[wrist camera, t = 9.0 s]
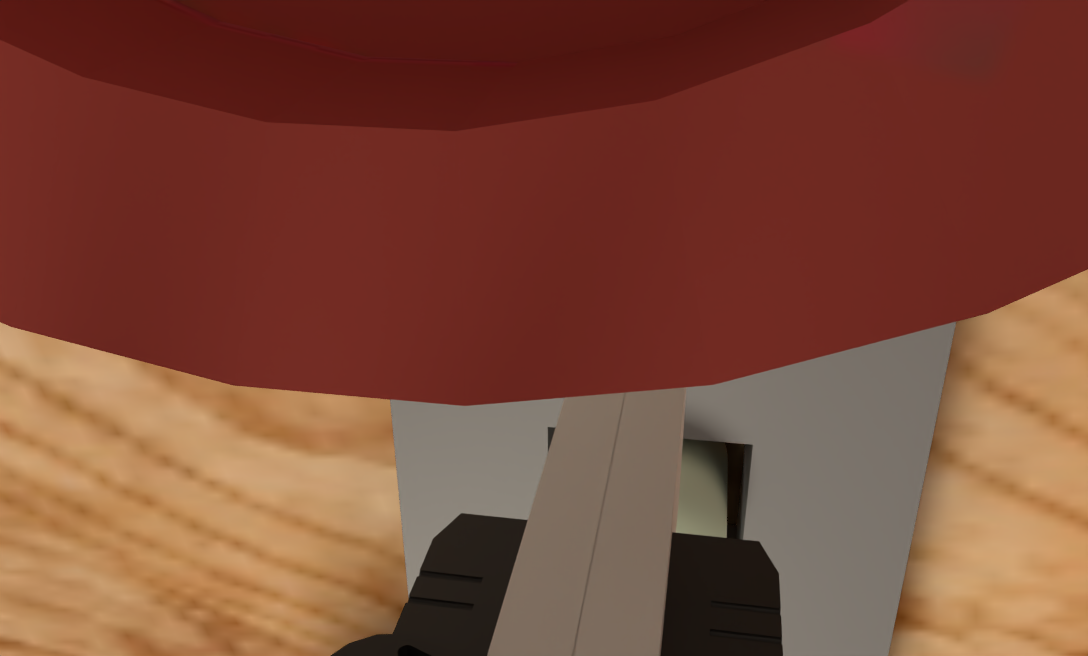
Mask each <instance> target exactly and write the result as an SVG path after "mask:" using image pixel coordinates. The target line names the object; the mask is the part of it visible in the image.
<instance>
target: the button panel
mask: <svg viewBox="0 0 1088 656" xmlns="http://www.w3.org/2000/svg"><path fill="white" fill-rule="evenodd" d="M955 325H956V322H952V323H949V324H945V325H941V326H937V327H933V328H930V329H926V330H922V331H918V332H914V333H910V334H907V335H903V336H899V337H895V338H891V339H887V340H884V341H880V342H876V343H872V344H868V345H864V346H861V347H857V348H853V349H849V350H845V351H841V352H838V353H834V354H830V355H826V356H822V357H818V358H815V359H811V360H807V361H803V362H799V363H795V364H792V365H788V366H784V367H780V368H776V369H772V370H769V371H765V372H761V373H757V374H753V375H749V376H746V377H742V378H738V379H734V380H730V381H727V382H723V383H719V384H715V385H708V386H696V387H686V401H685V416H684V431H683V439H693V440H705V441H716V442H728V443H739V444H745V446H744V456H743V466H742V476H741V486H740V495H739V505H738V515H737V525H730V524H727V538H733V539H742V540H752V541H759V542H760V543H761V545H762V547H763V548H764V550H765V551H766V553H767V555H768V556H769V558H770V560H771V561H772V563H773V564H774V566H775V568H776V569H777V571H778V572H779V582H780V603H781V612H780V615H781V623H782V645H783V656H888V654H889V649H890V644H891V639H892V634H893V629H894V624H895V620H896V615H897V610H898V605H899V600H900V595H901V590H902V585H903V580H904V575H905V570H906V566H907V561H908V556H909V551H910V546H911V541H912V536H913V531H914V526H915V521H916V517H917V512H918V507H919V502H920V497H921V492H922V487H923V482H924V477H925V472H926V467H927V463H928V458H929V453H930V448H931V443H932V438H933V433H934V428H935V423H936V418H937V414H938V409H939V404H940V399H941V394H942V389H943V384H944V379H945V374H946V369H947V364H948V360H949V355H950V350H951V345H952V340H953V335H954V330H955ZM563 401H564V398H554V399H542V400H531V401H519V402H507V403H495V404H483V405H472V406H458V405H447V404H436V403H425V402H414V401H403V400H391V399H390V403H391V414H392V425H393V436H394V446H395V457H396V468H397V478H398V489H399V500H400V511H401V521H402V532H403V543H404V554H405V564H406V575H407V586H408V596H409V594H410V592H411V590H412V587H413V585H414V582H415V580H416V578H417V576H418V577H419V574H420V568H421V566H422V564H423V561H424V559H425V556H426V554H427V552H428V549H429V547H430V545H431V542H432V540H433V538H434V537H435V536H436V535H438V534H439V533H440V532H441V531H442V530H443V529H444V528H445V527H446V526H448V525H449V524H450V523H451V522H452V521H453V520H454V519H455V518H456V517H457V516H459V515H460V514H461V513H466V514H475V515H485V516H494V517H504V518H514V519H523V520H528V518H529V514H530V511H531V508H532V505H533V501H534V498H535V495H536V491H537V488H538V485H539V481H540V478H541V475H542V471H543V468H544V465H545V461H546V458H547V455H548V451H549V448H550V445H551V441H552V438H553V435H554V431H555V428H556V425H557V421H558V418H559V415H560V411H561V408H562V405H563Z"/></svg>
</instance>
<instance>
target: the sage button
mask: <svg viewBox="0 0 1088 656" xmlns="http://www.w3.org/2000/svg"><path fill="white" fill-rule="evenodd" d="M727 481H728V455H727V448H726V445H725V442H716V441H705V440H693V439H683V446H682V461H681V475H680V490H679V504H678V515H677V526H676V533H685V534H694V535H704V536H713V537H723V538H727Z"/></svg>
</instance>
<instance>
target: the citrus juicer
mask: <svg viewBox="0 0 1088 656" xmlns="http://www.w3.org/2000/svg"><path fill="white" fill-rule="evenodd" d="M1087 269H1088V0H0V322H1V323H4V324H6V325H8V326H11V327H14V328H18V329H22V330H26V331H29V332H33V333H37V334H41V335H45V336H48V337H52V338H56V339H60V340H63V341H67V342H71V343H75V344H79V345H82V346H86V347H90V348H94V349H98V350H101V351H105V352H109V353H113V354H117V355H120V356H124V357H128V358H132V359H136V360H139V361H143V362H147V363H151V364H154V365H158V366H162V367H166V368H170V369H173V370H177V371H181V372H185V373H189V374H192V375H196V376H200V377H204V378H208V379H211V380H215V381H219V382H223V383H227V384H230V385H235V386H247V387H258V388H269V389H280V390H291V391H302V392H313V393H325V394H336V395H347V396H358V397H369V398H380V399H391V400H403V401H414V402H425V403H436V404H447V405H458V406H472V405H483V404H495V403H507V402H519V401H531V400H542V399H554V398H566V397H578V396H590V395H602V394H613V393H625V392H637V391H649V390H661V389H672V388H684V387H696V386H708V385H715V384H719V383H723V382H727V381H730V380H734V379H738V378H742V377H746V376H749V375H753V374H757V373H761V372H765V371H769V370H772V369H776V368H780V367H784V366H788V365H792V364H795V363H799V362H803V361H807V360H811V359H815V358H818V357H822V356H826V355H830V354H834V353H838V352H841V351H845V350H849V349H853V348H857V347H861V346H864V345H868V344H872V343H876V342H880V341H884V340H887V339H891V338H895V337H899V336H903V335H907V334H910V333H914V332H918V331H922V330H926V329H930V328H933V327H937V326H941V325H945V324H949V323H952V322H956V321H960V320H964V319H968V318H972V317H975V316H979V315H983V314H987V313H990V312H992V311H994V310H996V309H999V308H1001V307H1003V306H1005V305H1008V304H1010V303H1012V302H1014V301H1017V300H1019V299H1021V298H1024V297H1026V296H1028V295H1030V294H1033V293H1035V292H1037V291H1039V290H1042V289H1044V288H1046V287H1048V286H1051V285H1053V284H1055V283H1058V282H1060V281H1062V280H1064V279H1067V278H1069V277H1071V276H1073V275H1076V274H1078V273H1080V272H1083V271H1085V270H1087Z"/></svg>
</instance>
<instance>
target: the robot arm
mask: <svg viewBox="0 0 1088 656" xmlns="http://www.w3.org/2000/svg"><path fill="white" fill-rule="evenodd" d="M685 401H686V387H684V388H672V389H661V390H649V391H637V392H625V393H613V394H602V395H590V396H578V397H566V398H564V401H563V405H562V408H561V411H560V415H559V418H558V421H557V425H556V428H555V431H554V435H553V438H552V441H551V445H550V448H549V451H548V455H547V458H546V461H545V465H544V468H543V471H542V475H541V478H540V481H539V485H538V488H537V491H536V495H535V498H534V501H533V505H532V508H531V511H530V514H529V518H528V520H523V519H514V518H504V517H494V516H485V515H475V514H466V513H461V514H460V515H459V516H457V517H456V518H455V519H454V520H453V521H452V522H451V523H450V524H449V525H448V526H446V527H445V528H444V529H443V530H442V531H441V532H440V533H439V534H438V535H436V536H435V537H434V538H433V540H432V542H431V545H430V547H429V549H428V552H427V554H426V556H425V559H424V561H423V564H422V566H421V568H420V574H419V577H418V576H417V578H416V580H415V582H414V585H413V587H412V590H411V592H410V594H409V600H408V603H406V604H405V606H404V608H403V611H402V613H401V616H400V618H399V620H398V623H397V625H396V627H395V630H394V632H393V634H380V635H374V636H371V637H368V638H365V639H361V640H358V641H355V642H352V643H349V644H347V645H346V646H344V647H343V648H341V649H340V650H338V651H337V652H335V653H334V654H332V655H331V656H783V645H782V623H781V615H780V612H781V603H780V582H779V572H778V571H777V569H776V568H775V566H774V564H773V563H772V561H771V560H770V558H769V556H768V555H767V553H766V551H765V550H764V548H763V547H762V545H761V543H760V542H759V541H752V540H742V539H733V538H723V537H713V536H704V535H694V534H685V533H676V526H677V515H678V504H679V490H680V475H681V461H682V446H683V431H684V416H685Z"/></svg>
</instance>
